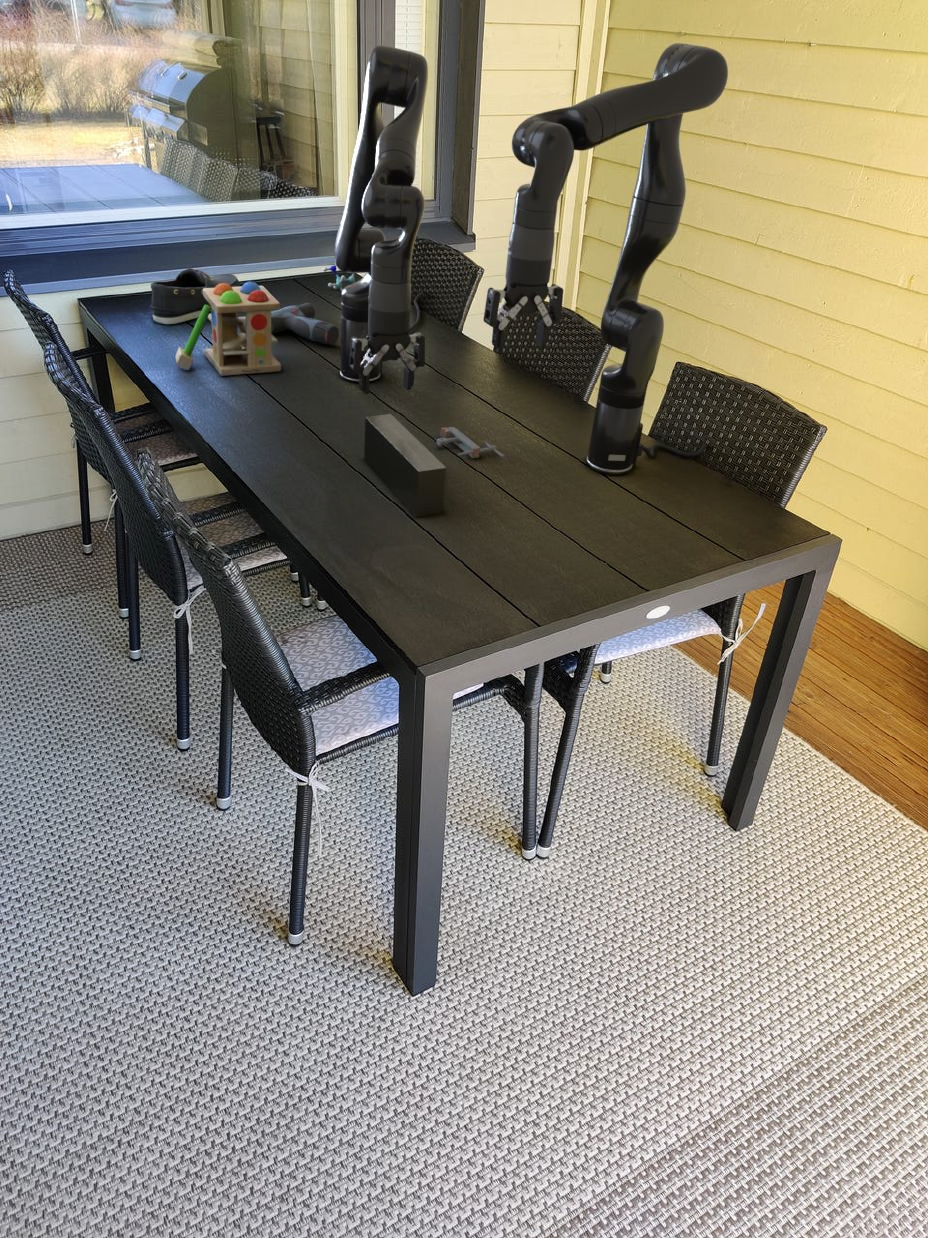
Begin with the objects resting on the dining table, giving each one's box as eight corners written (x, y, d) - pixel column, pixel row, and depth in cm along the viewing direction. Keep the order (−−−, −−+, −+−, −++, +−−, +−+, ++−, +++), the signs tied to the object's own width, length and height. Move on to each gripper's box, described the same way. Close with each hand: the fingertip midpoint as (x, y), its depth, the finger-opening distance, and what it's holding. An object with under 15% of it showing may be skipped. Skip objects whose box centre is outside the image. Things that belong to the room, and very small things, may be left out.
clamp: (428, 429, 204) (470, 423, 208) (427, 439, 205) (469, 432, 209) (464, 459, 193) (507, 451, 198) (463, 469, 194) (506, 461, 199)
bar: (364, 460, 194) (365, 416, 189) (388, 456, 197) (390, 413, 192) (416, 517, 177) (418, 471, 172) (442, 513, 179) (446, 467, 174)
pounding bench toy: (183, 379, 220) (176, 299, 210) (169, 357, 231) (162, 280, 221) (282, 371, 230) (280, 294, 220) (264, 350, 240) (262, 276, 230)
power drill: (365, 313, 253) (305, 296, 261) (318, 330, 240) (256, 311, 248) (364, 334, 256) (305, 316, 264) (318, 351, 243) (257, 332, 251)
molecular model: (356, 287, 278) (344, 252, 277) (328, 299, 282) (316, 265, 280) (372, 289, 288) (361, 256, 287) (345, 301, 292) (334, 268, 291)
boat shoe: (260, 302, 272) (258, 264, 267) (170, 326, 248) (166, 284, 243) (226, 294, 278) (223, 256, 272) (135, 316, 254) (130, 275, 248)
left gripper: (360, 312, 170) (358, 401, 179) (434, 307, 176) (429, 394, 185) (344, 300, 175) (343, 387, 184) (417, 295, 181) (412, 380, 190)
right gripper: (504, 260, 158) (494, 357, 168) (578, 256, 164) (564, 351, 173) (482, 248, 164) (473, 343, 173) (555, 245, 170) (543, 337, 179)
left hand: (386, 390), depth 185 cm, fingers open, 8 cm apart
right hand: (519, 347), depth 173 cm, fingers open, 8 cm apart
